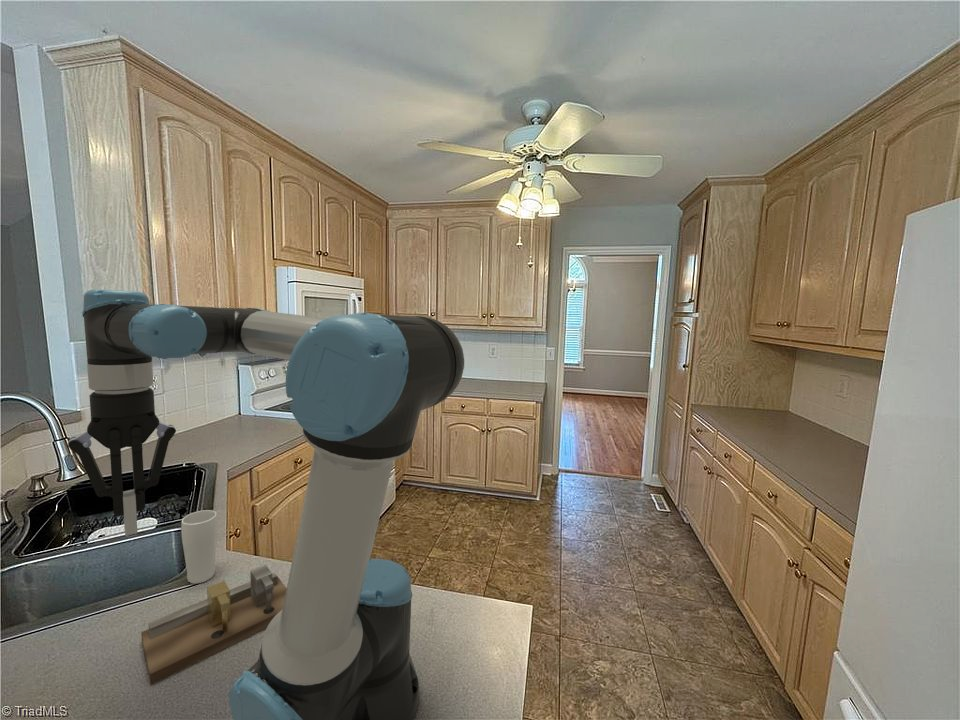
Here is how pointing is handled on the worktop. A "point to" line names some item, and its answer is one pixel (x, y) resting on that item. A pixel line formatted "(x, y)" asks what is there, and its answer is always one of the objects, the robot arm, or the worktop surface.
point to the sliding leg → (219, 604)
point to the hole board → (193, 634)
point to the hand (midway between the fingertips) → (131, 531)
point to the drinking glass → (199, 545)
